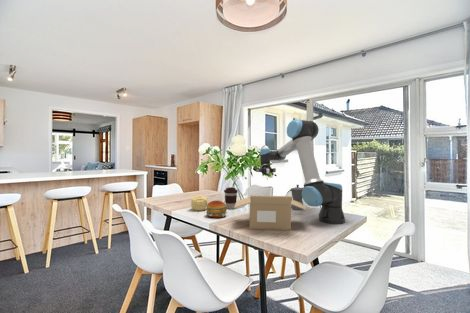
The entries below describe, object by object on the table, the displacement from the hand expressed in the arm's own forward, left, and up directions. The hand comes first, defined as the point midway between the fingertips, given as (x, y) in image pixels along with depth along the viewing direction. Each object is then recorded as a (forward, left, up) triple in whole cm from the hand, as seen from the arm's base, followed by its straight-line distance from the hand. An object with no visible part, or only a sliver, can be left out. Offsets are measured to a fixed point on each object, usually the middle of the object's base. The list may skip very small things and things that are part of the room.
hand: (268, 171), depth 147 cm
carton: (0, +8, -30) cm, 31 cm away
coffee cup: (+26, -26, -30) cm, 47 cm away
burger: (+33, -3, -30) cm, 45 cm away
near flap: (0, +25, -13) cm, 28 cm away
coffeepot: (-24, -30, -30) cm, 49 cm away
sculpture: (+48, -18, -30) cm, 59 cm away
